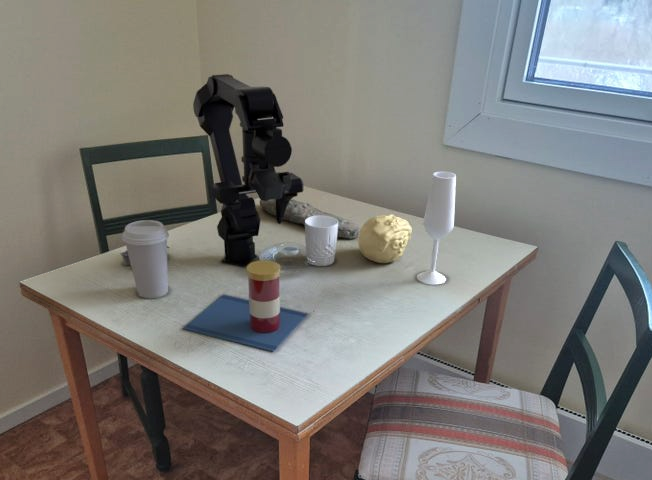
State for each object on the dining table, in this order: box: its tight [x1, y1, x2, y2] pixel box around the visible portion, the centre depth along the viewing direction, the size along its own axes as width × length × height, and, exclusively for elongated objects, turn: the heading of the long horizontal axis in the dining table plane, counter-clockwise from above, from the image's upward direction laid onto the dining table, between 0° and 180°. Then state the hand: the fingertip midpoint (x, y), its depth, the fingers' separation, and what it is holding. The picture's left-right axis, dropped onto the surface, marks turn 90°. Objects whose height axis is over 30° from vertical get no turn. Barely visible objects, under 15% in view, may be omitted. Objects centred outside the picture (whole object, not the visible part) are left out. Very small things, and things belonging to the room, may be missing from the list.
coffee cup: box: [121, 219, 170, 299], centre depth 137 cm, size 10×10×15 cm
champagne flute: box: [416, 171, 457, 286], centre depth 142 cm, size 7×7×24 cm
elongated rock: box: [259, 198, 361, 240], centre depth 176 cm, size 35×5×10 cm
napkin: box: [182, 294, 308, 353], centre depth 130 cm, size 20×16×1 cm
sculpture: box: [357, 213, 413, 264], centre depth 155 cm, size 12×12×11 cm
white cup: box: [304, 215, 338, 267], centre depth 153 cm, size 8×8×10 cm
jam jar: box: [246, 259, 281, 333], centre depth 125 cm, size 6×6×13 cm
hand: (259, 226), depth 139 cm, fingers open, 9 cm apart
